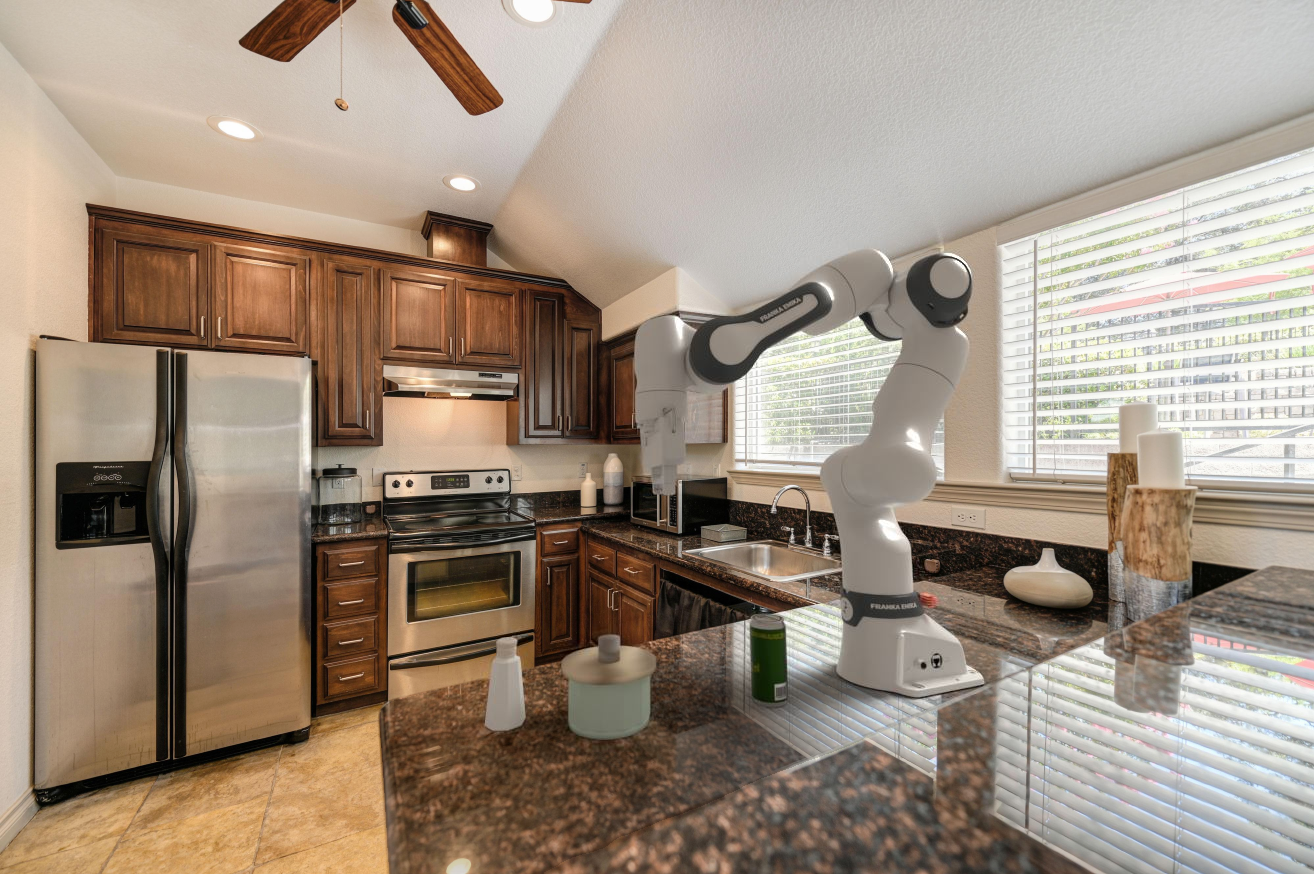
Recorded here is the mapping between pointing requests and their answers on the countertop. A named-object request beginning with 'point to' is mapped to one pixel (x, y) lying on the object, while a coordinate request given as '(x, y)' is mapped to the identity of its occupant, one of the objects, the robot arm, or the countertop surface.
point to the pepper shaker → (505, 689)
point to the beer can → (768, 660)
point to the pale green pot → (609, 709)
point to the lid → (608, 663)
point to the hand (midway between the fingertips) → (663, 494)
